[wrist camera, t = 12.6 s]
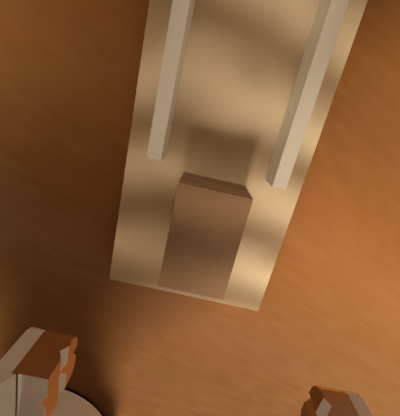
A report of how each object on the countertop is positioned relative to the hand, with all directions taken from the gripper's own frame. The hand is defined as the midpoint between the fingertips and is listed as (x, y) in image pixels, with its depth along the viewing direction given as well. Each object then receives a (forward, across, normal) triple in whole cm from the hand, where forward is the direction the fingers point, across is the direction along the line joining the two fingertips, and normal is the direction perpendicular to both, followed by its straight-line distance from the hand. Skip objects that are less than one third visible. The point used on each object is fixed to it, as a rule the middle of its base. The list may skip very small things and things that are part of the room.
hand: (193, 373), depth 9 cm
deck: (+16, 0, -10) cm, 19 cm away
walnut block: (+14, 0, 0) cm, 14 cm away
